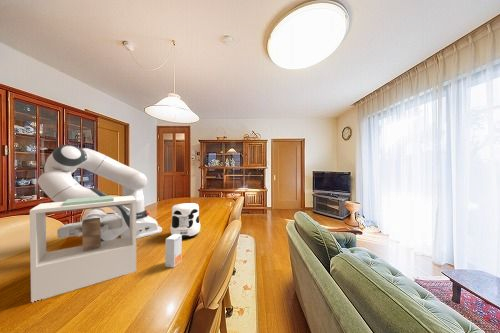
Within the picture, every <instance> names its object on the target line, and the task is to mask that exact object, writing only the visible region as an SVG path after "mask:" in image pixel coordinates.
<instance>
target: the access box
mask: <svg viewBox="0 0 500 333" xmlns="http://www.w3.org/2000/svg"><path fill="white" fill-rule="evenodd" d="M121 205H123V206H124V205H130V236H128V237H122V238H121V237H116V238H115V239H112V240H107V241H102V242H101V244H100V247H95V248H90V249H86V250H83V244H82V245H78V246H73V247H67V248H62V249H61V248H60V249H57V250H52V251H47V221H46V220H47V215H48V214H57V213H65V212H74V211H82V210H83V211H85V210H91V209H94V208H100V209H102V208H109V207H112V206H121ZM29 249H30V250H29V252H30V255H29V256H30V258H29V259H30V303H31V302H32V303H35V302H34V301H36V302H38V301H37V300H39V301H42V300H46V299H48V298H53V297H55V296H58V295H59V296H60V295H62V294H65V293H69V292H72V291H75V290H78V289H82V288H86V287H89V286H92V285H96V284H99V283H102V282H105V281H109V280H112V279H116V278H119V277H122V276H125V275H130V274H133V273H136V272H137V239H136V199H135V198H134V197H133V196H123V195H122V196H114V195H108V196H101V197H89V198H76V199H67V200H66V201H65V202H54V201H53V202H45V203H43V202H42V203H39V204H38V205H35V206H34V207H32V208H31V209H30V210H29ZM41 299H42V300H41Z"/></svg>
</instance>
